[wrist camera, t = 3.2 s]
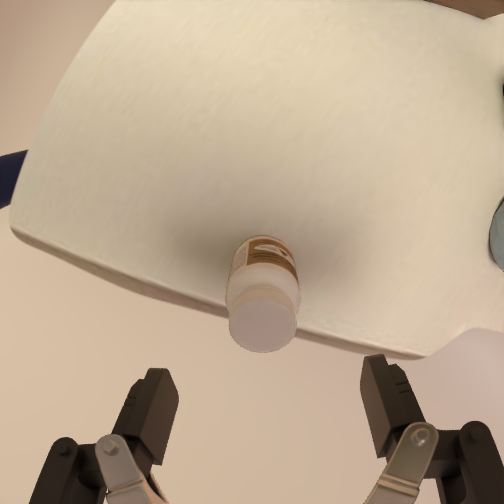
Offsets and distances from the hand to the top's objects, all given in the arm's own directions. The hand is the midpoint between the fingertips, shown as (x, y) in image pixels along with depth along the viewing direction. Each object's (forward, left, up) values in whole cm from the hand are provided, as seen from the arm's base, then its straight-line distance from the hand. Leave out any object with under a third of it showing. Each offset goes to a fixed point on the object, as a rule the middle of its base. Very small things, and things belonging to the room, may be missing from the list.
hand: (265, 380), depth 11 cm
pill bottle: (0, 0, -12) cm, 12 cm away
